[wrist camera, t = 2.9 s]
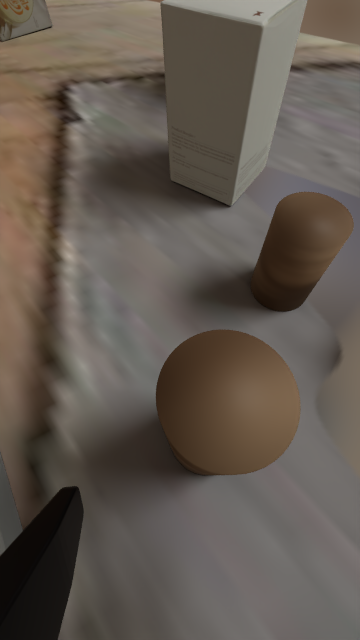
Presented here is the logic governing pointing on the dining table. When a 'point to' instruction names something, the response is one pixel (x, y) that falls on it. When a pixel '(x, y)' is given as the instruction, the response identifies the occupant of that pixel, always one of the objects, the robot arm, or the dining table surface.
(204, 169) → the supplement box
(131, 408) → the dining table surface
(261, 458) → the tall walnut peg
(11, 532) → the socket block
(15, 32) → the coffee box
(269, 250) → the medium walnut peg
